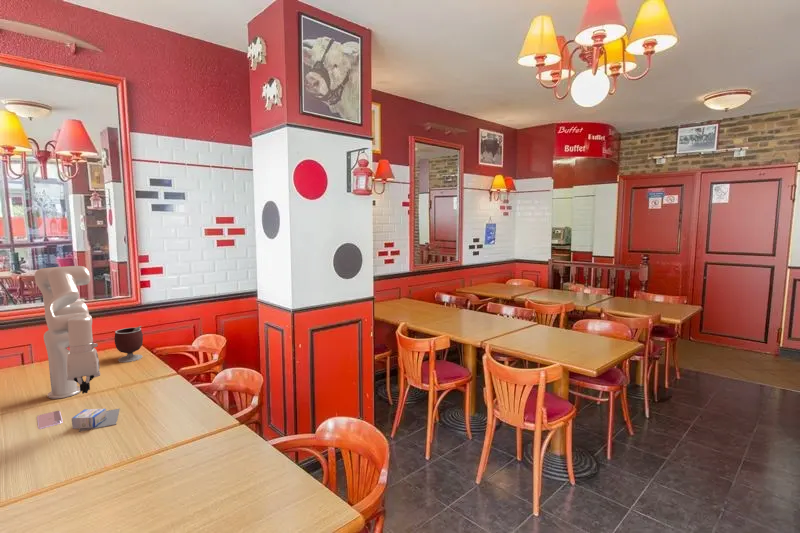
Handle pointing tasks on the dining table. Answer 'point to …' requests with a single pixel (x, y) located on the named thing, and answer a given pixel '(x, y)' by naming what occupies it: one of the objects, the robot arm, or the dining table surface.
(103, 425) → the mat
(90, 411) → the medicine box
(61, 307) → the robot arm
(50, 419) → the mobile phone
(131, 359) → the mate gourd
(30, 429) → the dining table surface
